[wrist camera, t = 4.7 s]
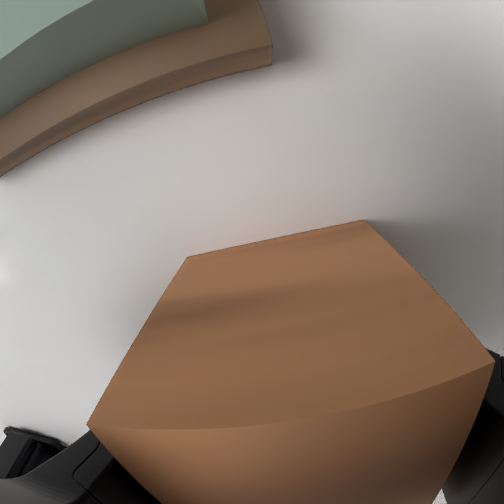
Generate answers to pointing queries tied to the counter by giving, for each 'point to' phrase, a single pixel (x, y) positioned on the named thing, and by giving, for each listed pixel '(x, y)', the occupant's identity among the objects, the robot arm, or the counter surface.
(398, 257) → the block
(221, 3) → the tower base
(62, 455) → the robot arm
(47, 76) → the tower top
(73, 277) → the counter surface
